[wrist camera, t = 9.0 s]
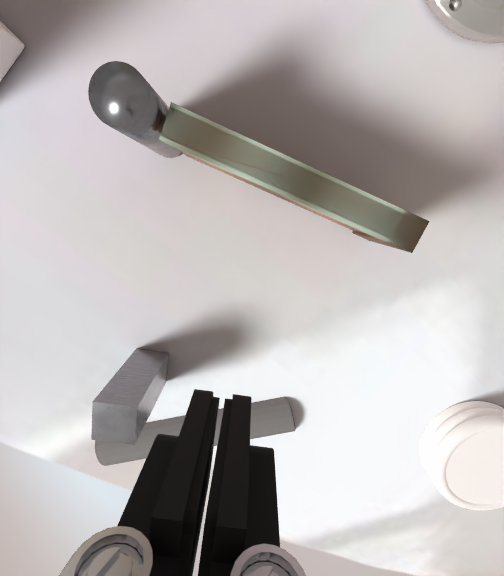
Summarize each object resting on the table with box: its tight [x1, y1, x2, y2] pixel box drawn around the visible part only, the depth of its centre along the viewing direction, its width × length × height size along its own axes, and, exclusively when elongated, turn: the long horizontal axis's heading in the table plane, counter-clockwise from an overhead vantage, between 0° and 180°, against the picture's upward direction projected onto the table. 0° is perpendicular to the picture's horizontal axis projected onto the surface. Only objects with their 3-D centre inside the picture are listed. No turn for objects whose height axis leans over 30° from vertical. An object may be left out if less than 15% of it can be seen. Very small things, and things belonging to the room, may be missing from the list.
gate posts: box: [89, 61, 182, 445], centre depth 23 cm, size 3×23×10 cm, turn 172°
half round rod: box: [95, 397, 295, 466], centre depth 32 cm, size 4×20×2 cm, turn 102°
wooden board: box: [159, 102, 429, 253], centre depth 22 cm, size 16×2×7 cm, turn 67°
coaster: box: [419, 401, 504, 510], centre depth 31 cm, size 10×10×4 cm
